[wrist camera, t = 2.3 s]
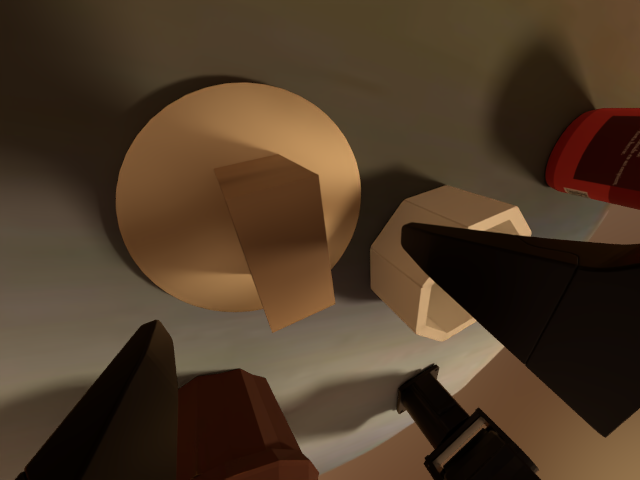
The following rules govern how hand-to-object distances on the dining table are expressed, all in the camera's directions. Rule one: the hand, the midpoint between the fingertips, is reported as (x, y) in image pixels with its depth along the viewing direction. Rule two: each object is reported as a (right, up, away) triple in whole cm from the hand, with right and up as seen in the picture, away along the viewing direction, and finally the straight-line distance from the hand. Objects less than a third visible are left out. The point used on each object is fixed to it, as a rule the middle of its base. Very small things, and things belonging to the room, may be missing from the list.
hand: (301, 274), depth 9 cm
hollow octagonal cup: (+9, +1, +12) cm, 15 cm away
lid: (-3, +3, +5) cm, 6 cm away
